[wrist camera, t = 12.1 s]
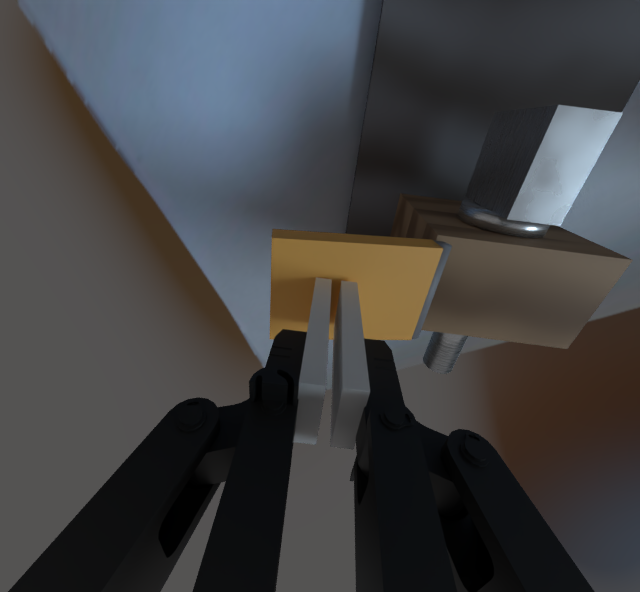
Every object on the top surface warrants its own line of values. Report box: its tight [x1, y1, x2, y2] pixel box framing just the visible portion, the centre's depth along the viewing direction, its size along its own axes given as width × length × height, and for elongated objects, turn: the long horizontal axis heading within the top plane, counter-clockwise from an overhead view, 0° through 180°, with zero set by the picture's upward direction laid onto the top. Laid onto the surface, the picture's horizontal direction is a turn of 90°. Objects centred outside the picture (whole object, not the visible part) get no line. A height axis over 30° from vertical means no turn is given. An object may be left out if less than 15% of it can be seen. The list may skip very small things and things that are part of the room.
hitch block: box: [346, 0, 640, 349], centre depth 19 cm, size 24×18×12 cm
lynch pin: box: [423, 105, 623, 374], centre depth 19 cm, size 18×5×6 cm, turn 174°
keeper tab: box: [270, 229, 452, 340], centre depth 15 cm, size 6×9×1 cm, turn 84°
